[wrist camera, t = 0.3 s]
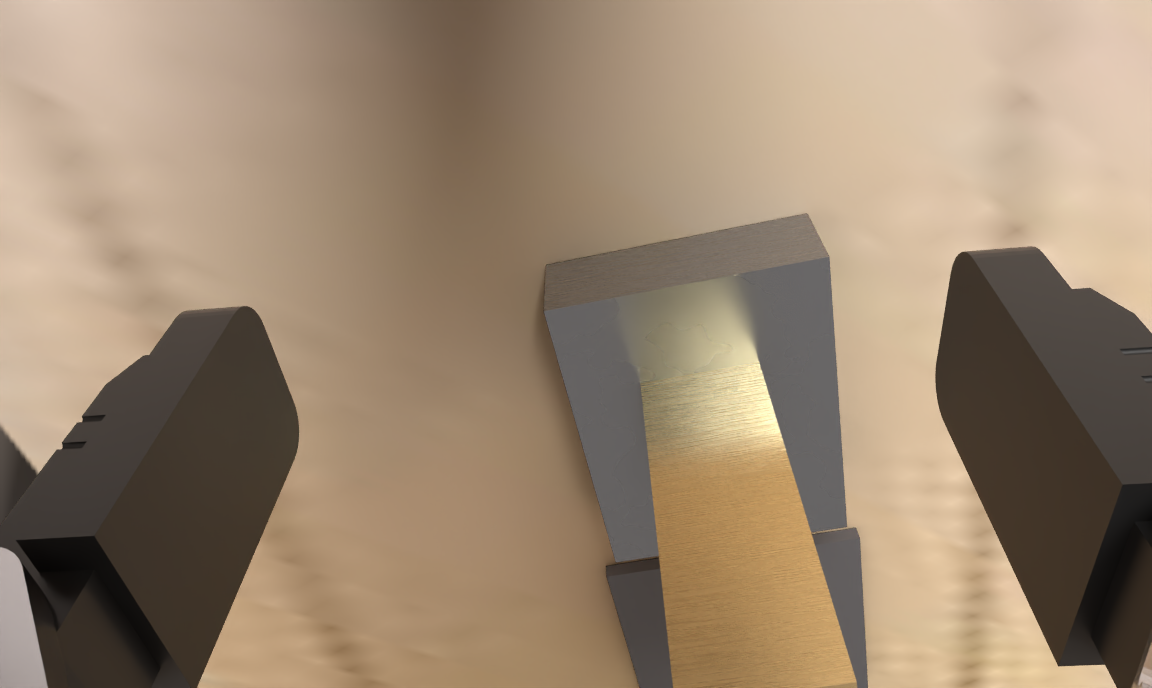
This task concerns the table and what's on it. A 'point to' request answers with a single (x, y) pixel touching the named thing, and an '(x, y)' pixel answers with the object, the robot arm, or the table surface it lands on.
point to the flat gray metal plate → (646, 619)
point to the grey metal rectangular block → (699, 355)
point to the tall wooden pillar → (736, 540)
